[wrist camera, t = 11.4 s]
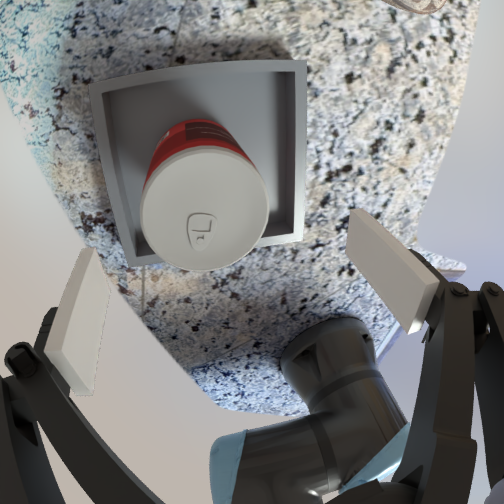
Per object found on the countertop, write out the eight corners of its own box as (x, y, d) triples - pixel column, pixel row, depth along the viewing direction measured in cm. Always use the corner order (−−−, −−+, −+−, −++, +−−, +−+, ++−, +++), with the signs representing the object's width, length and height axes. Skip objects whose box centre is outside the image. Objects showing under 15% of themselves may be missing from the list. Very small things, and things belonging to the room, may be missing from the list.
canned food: (161, 208, 28) (156, 282, 19) (145, 125, 24) (123, 163, 15) (242, 194, 29) (273, 261, 20) (234, 111, 25) (267, 139, 16)
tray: (293, 225, 33) (302, 240, 31) (131, 250, 31) (128, 267, 28) (294, 60, 24) (306, 60, 21) (97, 82, 21) (87, 84, 18)
